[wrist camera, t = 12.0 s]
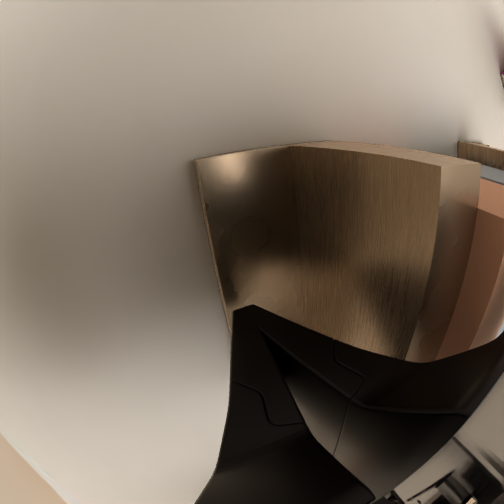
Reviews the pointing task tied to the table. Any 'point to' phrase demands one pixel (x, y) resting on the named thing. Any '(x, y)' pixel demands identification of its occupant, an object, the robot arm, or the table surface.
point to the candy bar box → (503, 76)
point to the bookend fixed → (481, 154)
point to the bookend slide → (344, 239)
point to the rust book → (481, 279)
